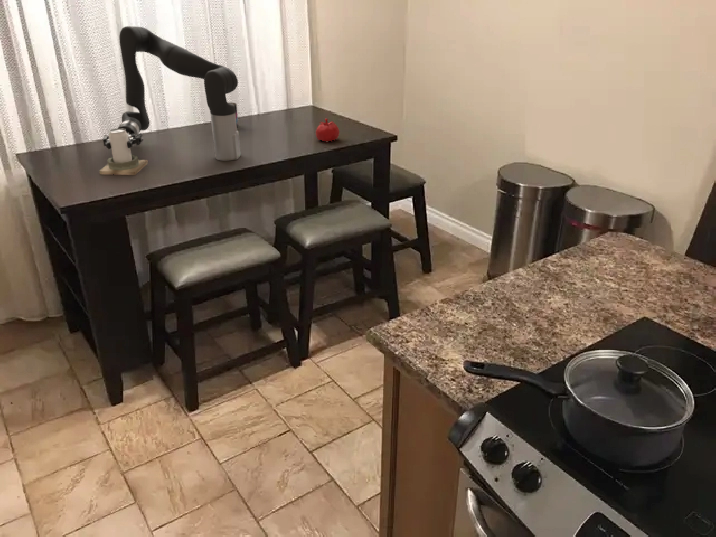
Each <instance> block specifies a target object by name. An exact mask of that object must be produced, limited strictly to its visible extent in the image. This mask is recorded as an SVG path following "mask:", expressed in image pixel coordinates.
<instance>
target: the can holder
mask: <svg viewBox="0 0 716 537" xmlns="http://www.w3.org/2000/svg"><path fill="white" fill-rule="evenodd" d="M131 155H132V161H129V162H123V163H115V162H114V160H113V156H111V157H109V158H108V159H107V160H106V161H107V164H106V165H105V166H104V167H102V168H101V169H99V175H113V174H114V175H118V176H121V175H123V176H125V175H128V176H136V175H137V174H138V173H139V172H140V171H141V170H143V168H144V167H146V165H148V163H149V162H148V160H147V159H139V158H138V156H137V155H135V154H131Z"/></svg>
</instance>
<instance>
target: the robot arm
mask: <svg viewBox="0 0 716 537" xmlns="http://www.w3.org/2000/svg"><path fill="white" fill-rule="evenodd" d="M118 38H119V39H118V40H119V48H120V53H121V59H122V65H123V71H124V76H125V102H126V105H128V106H130V107H132V108H135V109H137V110H138V111H129V110H128V111H124V112H123V113H122V115H121V123H120V124H119V125H118V127H117V128H123V129H125V130H126V132H127V134H128V139H129V141H128V142H127V146H128V148H130V149H131V148H132V147H133V146H135V145H136V146H138V145H140V144H142V143H143V141H144V135H143V133H140V132H141V131H147V130H148V129H149V127H150V118H149V115H148V112H147V108H146V102H145V101H146V100H145V99H146V98H145V94H146V93H145V82H144V80H143V77H142V75H141V73H140V71H139V68H138V66H137V65H138V64H137V60H136V58H137V57H136V55H137V53H140V52H141V53H147V54H150V55H153V56H155V57H157V58H159V60H160V61H161V63H162V64H163V66H165V67H166V68H168V69H169V70H170V71H173V72H174V73H176V74H178V75H182V76H185V77H189V78H196V79H202V80H203V86H204V92H205V93H204V94H205V98H206V104H207V107H208V109H209V112H210V114H209V115H210V120H211V121H210V122H211V131H212V138H213V140H212V141H213V148H214V156H215V159H216V160H218V161H224V162H226V161H227V162H228V161H233V160H238V159H239V158H240V156H241V155H242V154H241V144H240V143H241V142H240V135H239V134H240V133H239V131H238V128H237V125H236V115H235V106H234V105H233V104H231V103H229V101H227V96H226V95H227V94H230V93H232V92H234V91H235V90H236V89H237V87H238V85H239V80H238V77H237V75H236V74H235V72H234V71H233V70H231V69H230V68H229V67H226V66H224V65H220V64H217V63H215V62H212V61H209V60H207V59H205V58H203V57H202V56H199V55H197V54H195V53H194V52H191V51H189V50H187V49H186V48H183V47H181V46H179V45H177V44H175V43H172V42H170V41H168V40H166V39H164V38H161V37H160V36H158V35H157V34H155V33H154V32H152V31H151V30H149V29H148V28H145V27H144V26H135V25H134V26H133V25H130V26H128V25H127V26H123V27H122V28H121V29H120V31H119V36H118ZM102 141H103V142H102V143H103V146H104V147H106V148H107V149H108V150H110V149H111V145H110V140H109V134H105V135H103V137H102Z"/></svg>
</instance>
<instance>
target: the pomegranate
mask: <svg viewBox="0 0 716 537" xmlns="http://www.w3.org/2000/svg"><path fill="white" fill-rule="evenodd" d="M328 120H329V119H328V118H324V121H325V122H324V121H320V122H318V123H319V125H318V126H317V127H316V129H315V137H316V139H317V140H318V141H319V140H322V141H331V142H333V141H332V140H334V141H336V140H337V139H338V138H339V136H340V129H339V127H338V126H337V123H335V122H334V121H330V122H328ZM335 139H336V140H335Z"/></svg>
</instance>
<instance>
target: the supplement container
mask: <svg viewBox="0 0 716 537" xmlns="http://www.w3.org/2000/svg"><path fill="white" fill-rule="evenodd" d="M228 103H231V104H233V105H234V106H235V115H236V125H237V127H238V128H239V116H238V105H237V103H236V102H229V101H228Z"/></svg>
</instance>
